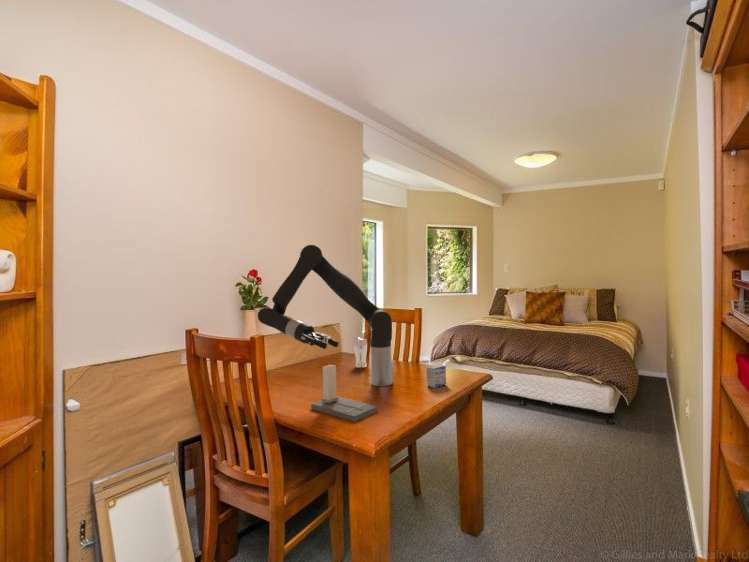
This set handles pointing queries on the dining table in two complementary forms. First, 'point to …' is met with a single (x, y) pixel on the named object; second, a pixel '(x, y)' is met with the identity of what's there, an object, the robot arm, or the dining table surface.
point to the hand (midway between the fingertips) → (332, 345)
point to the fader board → (345, 409)
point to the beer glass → (360, 352)
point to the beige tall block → (329, 384)
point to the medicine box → (436, 376)
